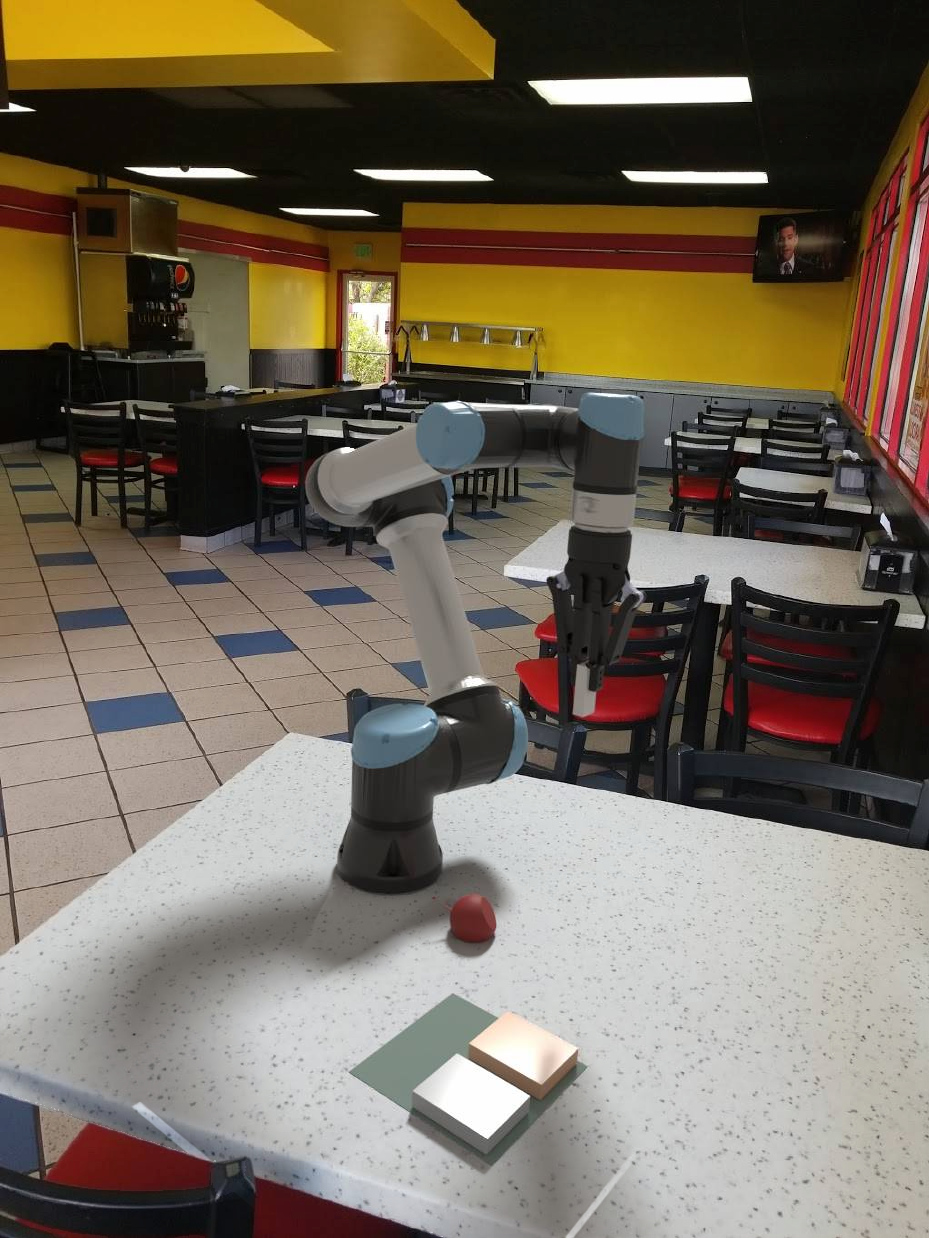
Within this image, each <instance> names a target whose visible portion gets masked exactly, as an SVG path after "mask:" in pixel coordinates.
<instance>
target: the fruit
mask: <svg viewBox="0 0 929 1238" xmlns="http://www.w3.org/2000/svg"><path fill="white" fill-rule="evenodd" d="M431 899H432V900H435V899H436V896H435V895H433V896H431ZM439 902H440V903H441V905H443V906H444V908H446V909H448V910H449V911H450V914H449V925H450V928H451V931H452V933H453V934H454V936H455V937H457V939H459V940H461V941H463V942H467V943H474V944H475V943H483V942H486V941H488V940H489V939H491V937H492V936H493V935H494V933H495V932H496V930H497V919H496V914H495V912H494V908H493V906H492V904H491V903H490V901H489V900H488V898H487V897H486V896H484V895H481V894H476V893H471V894H470V893H469V894H466V895H464V896H461V897H459V898H458V900H457V901H455V903H454V904H453V905H452V908H451V907H449V906H447V905H446V904H444V903H443V902H442V901H441V900H439Z"/></svg>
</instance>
